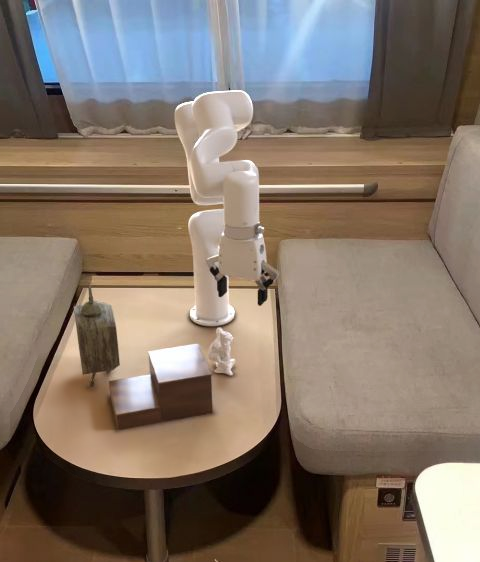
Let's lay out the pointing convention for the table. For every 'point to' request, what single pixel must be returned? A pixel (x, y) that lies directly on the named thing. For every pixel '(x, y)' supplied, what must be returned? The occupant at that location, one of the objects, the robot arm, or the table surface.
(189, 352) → the step shelf
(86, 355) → the spike-topped wooden block
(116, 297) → the table surface
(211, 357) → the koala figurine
